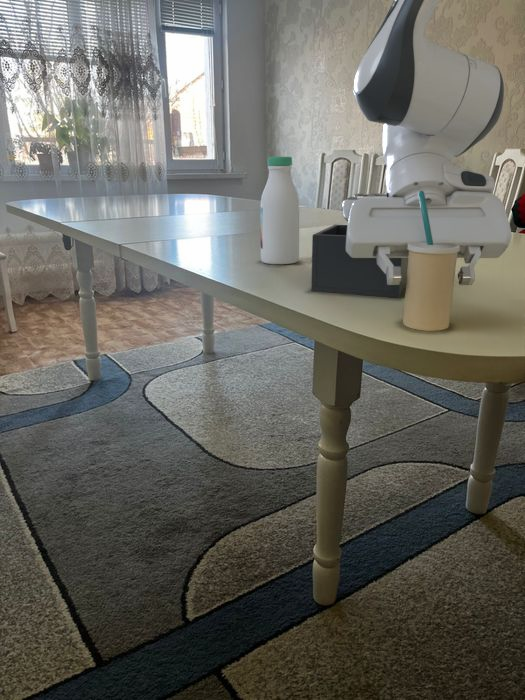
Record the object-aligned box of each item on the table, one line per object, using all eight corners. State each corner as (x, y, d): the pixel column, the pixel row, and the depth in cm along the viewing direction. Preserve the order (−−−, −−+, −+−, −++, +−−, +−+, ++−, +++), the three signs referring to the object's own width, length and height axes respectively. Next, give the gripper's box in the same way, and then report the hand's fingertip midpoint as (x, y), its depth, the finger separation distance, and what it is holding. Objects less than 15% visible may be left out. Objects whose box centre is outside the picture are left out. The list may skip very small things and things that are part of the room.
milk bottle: (306, 261, 109) (308, 156, 103) (280, 266, 104) (280, 156, 97) (279, 256, 115) (279, 156, 108) (252, 261, 110) (251, 156, 103)
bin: (410, 279, 93) (414, 227, 90) (398, 298, 81) (403, 238, 78) (333, 274, 98) (334, 224, 95) (311, 290, 86) (312, 234, 83)
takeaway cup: (452, 320, 70) (467, 189, 65) (449, 333, 65) (464, 193, 59) (404, 315, 72) (415, 189, 67) (398, 328, 67) (408, 192, 61)
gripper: (344, 177, 70) (347, 268, 64) (506, 176, 69) (525, 268, 63) (340, 210, 75) (342, 295, 70) (490, 209, 74) (505, 296, 68)
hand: (430, 282), depth 66 cm, fingers open, 7 cm apart
